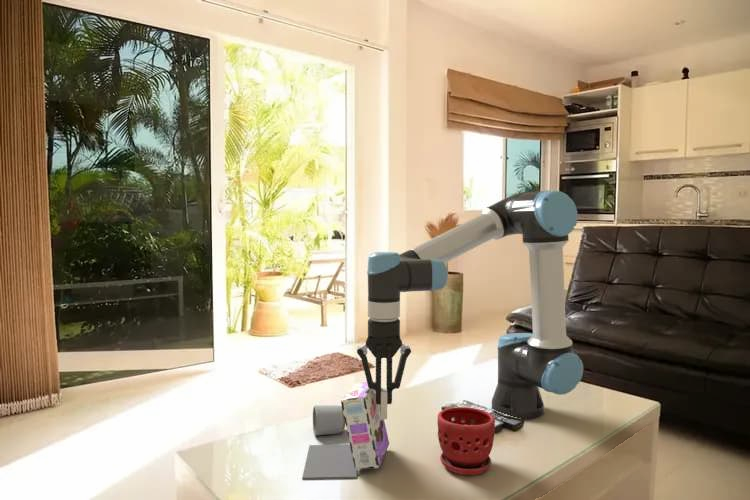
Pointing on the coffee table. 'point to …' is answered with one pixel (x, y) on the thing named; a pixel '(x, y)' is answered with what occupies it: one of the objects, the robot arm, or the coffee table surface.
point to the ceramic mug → (328, 419)
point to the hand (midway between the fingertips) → (383, 416)
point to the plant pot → (466, 439)
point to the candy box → (364, 427)
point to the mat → (329, 462)
